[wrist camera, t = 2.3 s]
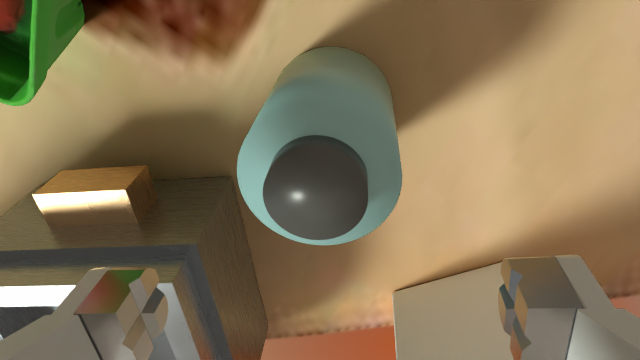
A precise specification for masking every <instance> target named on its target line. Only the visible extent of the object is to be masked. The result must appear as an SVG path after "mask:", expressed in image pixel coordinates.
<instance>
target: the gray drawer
mask: <svg viewBox="0 0 640 360" xmlns="http://www.w3.org/2000/svg"><path fill="white" fill-rule="evenodd" d="M113 267H151V268H153V269H155V270H156V272H157V275H158V277H159V280H160V281H159V283H158V285H157V288H158V289H159V290H160V291H162V292H163V293H164V294H165V296H166V299H167V302H168V317H167V322H166V325H165V327H164V329H163V331H162V333H161V334H159V335H158V336H157V337H155V338H154V339H153V340H152V344H153V347H154V348H153V350H152V352H151V354H150V356H149V358H148V360H260V359H261V355H262V351H263V346H264V342H265V338H266V334H267V330H268V323H267V319H266V315H265V311H264V307H263V303H262V299H261V295H260V291H259V286H258V282H257V278H256V274H255V270H254V266H253V262H252V258H251V254H250V250H249V246H248V242H247V238H246V234H245V229H244V225H243V221H242V217H241V213H240V209H239V205H238V201H237V197H236V193H235V189H234V185H233V181H232V176H228V177H210V178H192V179H174V180H156V181H152V179H151V176H150V173H149V170H148V167H147V165H143V166H127V167H110V168H94V169H77V170H62V171H60V172H59V173H58V174H57V175H56V176H54V177H53V178H52V179H51V180H50V181H48V182H47V183H46V184H45V185H44V186H42V187H37V188H35V189H34V190H33V191H32V192H31V193H29V194H28V195H27V196H26V197H24V198H23V199H22V200H21V201H20V202H18V203H17V204H16V205H15V206H14V207H12V208H11V209H10V210H9V211H7V212H6V213H5V214H4V215H3V216H1V217H0V341H1V340H3V339H4V338H6V337H8V336H10V335H11V334H13V333H15V332H17V331H18V330H20V329H22V328H24V327H25V326H27V325H29V324H31V323H32V322H34V321H36V320H37V319H39V318H41V317H43V316H44V315H51V314H52V313H53V312H54V311H55V310H56V309H57V307H58V306H59V305H60V304H61V303H62V301H63V300H64V299H65V298H66V297H67V296H68V294H69V293H70V292H71V291H72V290H73V288H74V287H75V286H76V285H77V284H78V283H79V281H80V280H81V279H82V278H83V277H84V275H85V274H86V273H87V272H88V271H89V270H91V269H94V268H113Z"/></svg>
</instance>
